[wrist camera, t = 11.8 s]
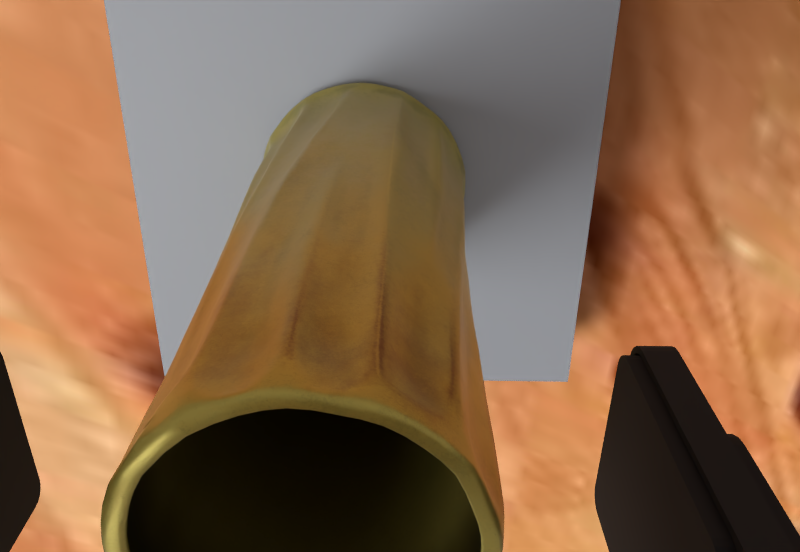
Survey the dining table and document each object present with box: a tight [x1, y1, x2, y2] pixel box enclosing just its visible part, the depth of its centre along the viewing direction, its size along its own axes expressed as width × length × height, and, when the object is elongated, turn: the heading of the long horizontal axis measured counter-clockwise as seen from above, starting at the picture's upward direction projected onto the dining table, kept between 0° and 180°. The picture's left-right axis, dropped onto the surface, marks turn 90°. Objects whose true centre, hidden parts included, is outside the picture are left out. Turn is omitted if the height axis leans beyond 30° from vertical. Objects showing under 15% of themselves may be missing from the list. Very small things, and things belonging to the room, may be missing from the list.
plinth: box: [104, 0, 621, 382], centre depth 24 cm, size 14×14×3 cm
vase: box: [101, 83, 504, 552], centre depth 16 cm, size 6×6×14 cm
